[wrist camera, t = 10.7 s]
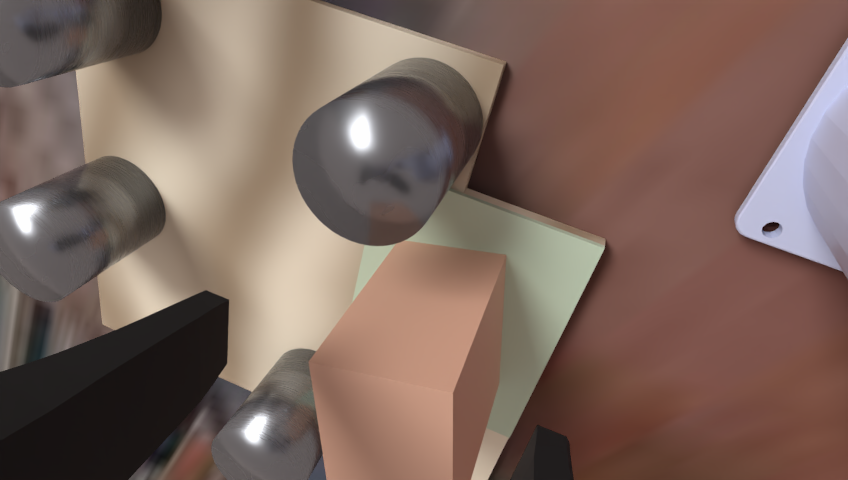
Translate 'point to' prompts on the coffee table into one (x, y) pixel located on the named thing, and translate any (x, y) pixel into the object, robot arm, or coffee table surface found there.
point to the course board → (273, 190)
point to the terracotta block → (412, 367)
